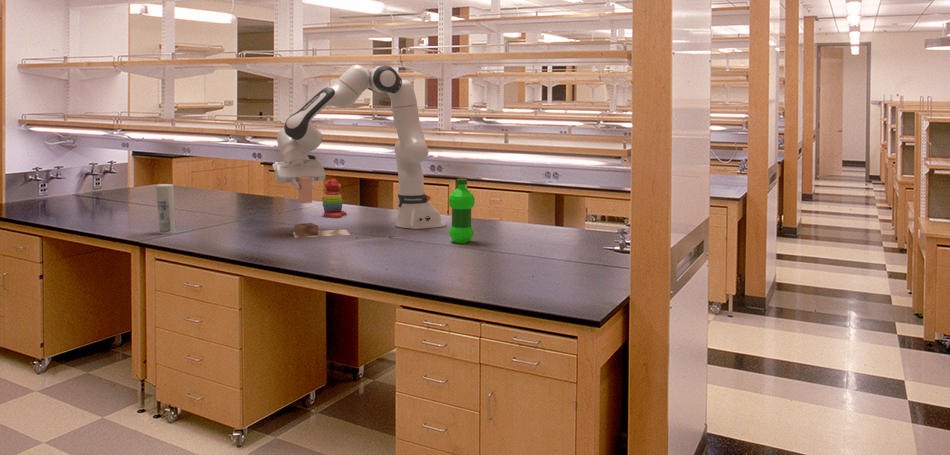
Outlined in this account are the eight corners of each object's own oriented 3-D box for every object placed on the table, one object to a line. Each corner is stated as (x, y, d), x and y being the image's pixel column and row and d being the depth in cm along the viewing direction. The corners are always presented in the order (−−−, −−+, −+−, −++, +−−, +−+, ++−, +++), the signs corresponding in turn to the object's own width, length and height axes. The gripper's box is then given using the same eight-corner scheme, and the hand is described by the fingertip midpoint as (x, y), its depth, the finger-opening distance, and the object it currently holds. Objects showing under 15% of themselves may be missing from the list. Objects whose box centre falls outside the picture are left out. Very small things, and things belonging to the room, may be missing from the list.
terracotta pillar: (308, 201, 286) (307, 176, 284) (312, 202, 282) (311, 177, 281) (298, 202, 283) (298, 177, 281) (302, 203, 280) (302, 178, 278)
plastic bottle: (452, 238, 286) (453, 177, 281) (477, 240, 283) (478, 178, 278) (444, 243, 277) (444, 180, 272) (470, 245, 274) (471, 181, 269)
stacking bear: (339, 218, 331) (338, 180, 328) (319, 217, 333) (318, 179, 330) (347, 214, 341) (347, 178, 338) (328, 213, 343) (327, 177, 340)
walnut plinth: (311, 232, 290) (310, 222, 289) (318, 235, 284) (317, 225, 284) (294, 234, 286) (294, 224, 285) (301, 236, 280) (301, 227, 279)
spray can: (156, 233, 290) (152, 185, 286) (168, 230, 296) (164, 183, 292) (168, 234, 288) (164, 186, 284) (180, 232, 294) (176, 184, 290)
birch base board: (346, 232, 297) (346, 229, 297) (350, 237, 286) (350, 234, 286) (292, 234, 290) (292, 232, 290) (294, 240, 279) (294, 237, 279)
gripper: (272, 157, 279) (282, 184, 273) (321, 156, 291) (331, 182, 285) (269, 167, 283) (278, 194, 277) (316, 166, 295) (326, 192, 289)
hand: (305, 188), depth 281 cm, fingers closed on terracotta pillar, 4 cm apart
